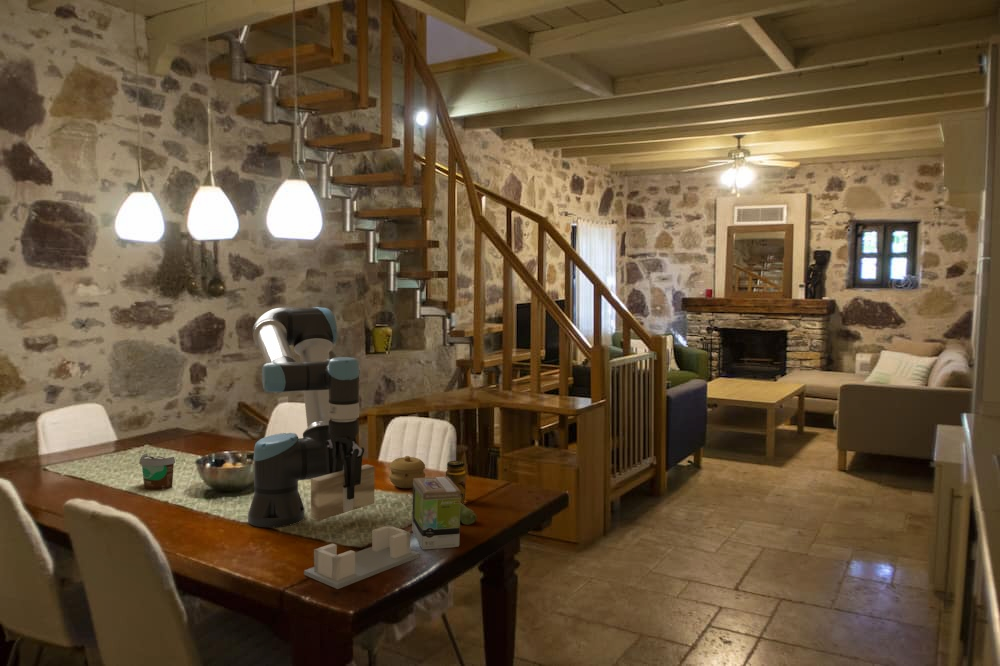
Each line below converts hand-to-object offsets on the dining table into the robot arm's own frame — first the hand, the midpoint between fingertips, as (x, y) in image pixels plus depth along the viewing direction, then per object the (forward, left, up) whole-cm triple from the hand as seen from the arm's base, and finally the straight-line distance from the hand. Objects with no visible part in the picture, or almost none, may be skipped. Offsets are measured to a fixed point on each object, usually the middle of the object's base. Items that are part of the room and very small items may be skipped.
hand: (343, 509), depth 191 cm
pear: (+12, +32, -9) cm, 35 cm away
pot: (-24, +46, -9) cm, 53 cm away
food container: (-82, -9, -9) cm, 83 cm away
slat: (0, 0, 0) cm, 0 cm away
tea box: (+17, +17, -9) cm, 25 cm away
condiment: (-2, +44, -9) cm, 45 cm away
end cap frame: (+17, -7, -8) cm, 20 cm away
